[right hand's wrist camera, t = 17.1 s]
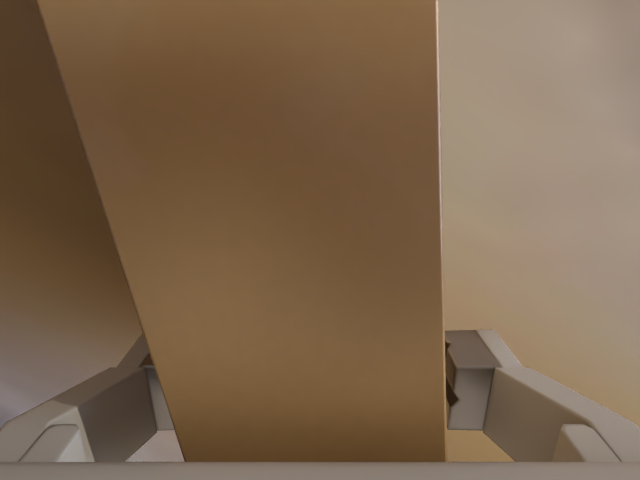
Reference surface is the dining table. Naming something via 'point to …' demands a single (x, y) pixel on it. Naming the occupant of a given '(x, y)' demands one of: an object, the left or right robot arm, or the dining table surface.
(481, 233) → the dining table surface
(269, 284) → the bar
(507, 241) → the dining table surface
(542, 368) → the dining table surface
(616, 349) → the dining table surface
